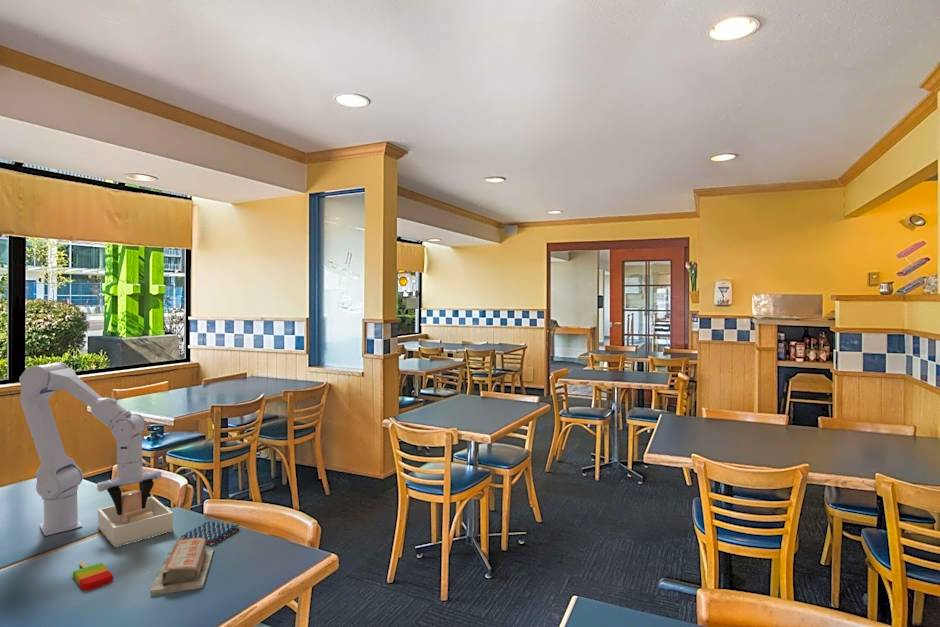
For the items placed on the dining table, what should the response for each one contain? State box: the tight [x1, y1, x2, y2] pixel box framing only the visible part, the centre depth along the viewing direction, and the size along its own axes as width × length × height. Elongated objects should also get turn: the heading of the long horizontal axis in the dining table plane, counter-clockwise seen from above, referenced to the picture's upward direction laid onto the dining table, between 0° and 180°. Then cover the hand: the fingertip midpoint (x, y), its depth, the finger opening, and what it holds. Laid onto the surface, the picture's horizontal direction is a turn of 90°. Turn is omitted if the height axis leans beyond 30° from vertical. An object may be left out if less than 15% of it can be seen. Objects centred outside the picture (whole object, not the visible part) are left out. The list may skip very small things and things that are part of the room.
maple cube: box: [125, 508, 153, 524], centre depth 141 cm, size 5×5×5 cm
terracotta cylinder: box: [120, 489, 142, 523], centre depth 146 cm, size 5×5×7 cm
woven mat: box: [179, 521, 240, 546], centre depth 140 cm, size 10×11×2 cm
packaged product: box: [149, 537, 215, 597], centre depth 121 cm, size 18×5×10 cm
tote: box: [97, 496, 174, 548], centre depth 143 cm, size 17×13×5 cm
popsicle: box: [72, 560, 114, 592], centre depth 120 cm, size 6×15×2 cm, turn 47°
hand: (130, 511), depth 146 cm, fingers closed on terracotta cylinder, 5 cm apart
